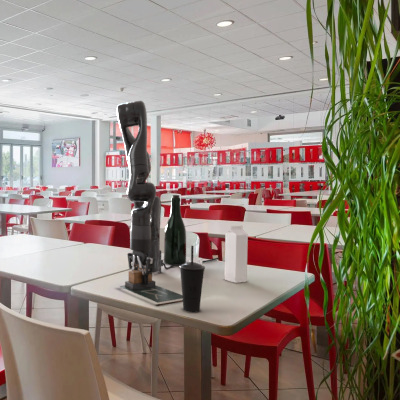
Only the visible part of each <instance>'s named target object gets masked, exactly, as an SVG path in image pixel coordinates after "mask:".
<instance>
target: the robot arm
mask: <svg viewBox="0 0 400 400" xmlns="http://www.w3.org/2000/svg"><path fill="white" fill-rule="evenodd" d="M116 117H117V121H118V126H119V130H120V133H121V138H122V141H123V146H124V151H125V157H126V164H127V170H128V174H129V175H128V183H127V186H126V187H127V188H126V197H127V199H128V200H129V201H130V202H133V205H134V206H133V207H134V208H133V209H132V210H131V212H130V213H131V214H130V224H131V225H130V232H129V235H130V236H129V239H130V240H129V243H130V244H129V245H130V246H129V249H130V251H132V252H127V262H128V263H127V264H128V269H129V270H131V271H132V270H140V269H141V271H142V285H148V275H149V274H152V275H153V273H156V274H160V273H162V267H164V269H165V270H168V269H171V268H174V267H179V266H180V265H181V264H175V265H170V266H168V267H167V265H166V263H164V259H162V250H161V249H160V246H161V245H160V243H161V242H160V239H161V238H160V237H161V217H162V216H161V215H162V200H161V198H160V196H159V195H157V188H156V185H155V184H154V183H153V182H149V181H148V182H147V180H148V178H149V176H150V174H151V171H152V165H151V158H150V154H149V151H148V111H147V108H146V104H145V102H144V101H143V100H134V101H130V102H124V103H119V104H118V105H117V107H116ZM132 127H138V132H137V134H136V136H135V137H134V136H133V135H134V134H133V133H132V132H131V130H130V128H132ZM219 259H220V257H214V258H211V259H205V260H202V264H203V263H208V262H212V261H216V260H219ZM183 264H184V263H183ZM144 269H145V271H144ZM149 270H150V271H149Z"/></svg>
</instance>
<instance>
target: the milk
mask: <svg viewBox="0 0 400 400" xmlns="http://www.w3.org/2000/svg"><path fill="white" fill-rule="evenodd" d="M248 238H249V235H248V233H247V232H246V231H245V230H244V229H243V225H231V226H230V230H229V231H227V232H225V238H224V239H225V240H224V280H225V281H227V282H231V283H233V284H238V283H246V282H247V281H248V248H249V247H248V244H249V242H248V241H249V239H248Z"/></svg>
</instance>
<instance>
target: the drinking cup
mask: <svg viewBox="0 0 400 400" xmlns="http://www.w3.org/2000/svg"><path fill="white" fill-rule="evenodd" d="M190 257H191V262H189V261H188V262H187V261H186V263H184V264H181V265H179V266H178V267H179V271H180V283H181V295H182V297H183V298H182V300H183V302H182V307H183V311H185V312H187V313H198V312H200V310H201V300H202V292H203V283H204V282H203V281H204V272H205V269H206V266H205V265H203V264H202V265H201V264H199V263H195V262H193V257H194V245H191V246H190Z"/></svg>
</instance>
